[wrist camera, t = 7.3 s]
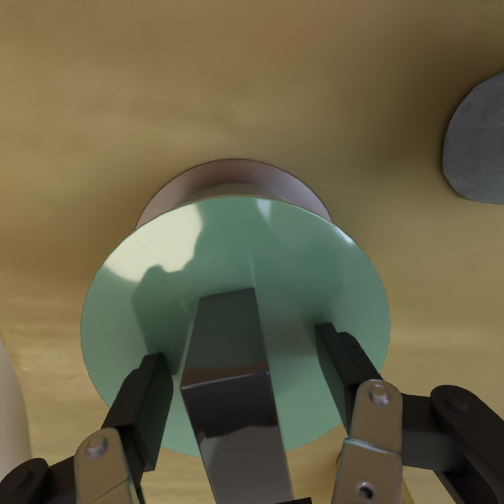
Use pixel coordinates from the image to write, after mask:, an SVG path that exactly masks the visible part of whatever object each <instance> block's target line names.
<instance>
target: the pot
mask: <svg viewBox="0 0 504 504" xmlns="http://www.w3.org/2000/svg"><path fill="white" fill-rule="evenodd" d="M327 322H332V324H333V326H334V327H335V329H336V331H337V332H338V333H339V332H344V331H346V332H348V333H349V334H351V335H352V336H354V337H355V338H356V339H357V341H358V342H359V344H360V345H361V348H363V350H364V351H365V354H367V356H368V357H369V359H370V360H371V362H372V364H373V365H374V367H375V368H376V370H377V371H378V373H379V374H380V372H381V369H382V366H383V364H384V361H385V358H386V355H387V350H388V345H389V340H390V324H391V322H390V312H389V304H388V300H387V296H386V292H385V288H384V286H383V283H382V281H381V279H380V277H379V274H378V272H377V270H376V269H375V267H374V265H373V264H372V262H371V261H370V259H369V257H368V256H367V254H366V253H365V252H364V251H363V250H362V249H361V248H360V246H359V245H358V244H357V243H356V242H355V241H354V240H353V239H352V238H351V237H350V236H349V235H347V234H346V233H345V232H344V231H343V230H342V229H340V228H339V227H338V226H336V225H335V224H334V223H332V222H330V221H329V220H327V219H326V218H324V217H322V216H321V215H319V214H318V213H316V212H313V211H311V210H309V209H307V208H304V207H302V206H300V205H298V204H295V203H293V202H292V201H291V200H290V199H288V198H287V197H285V196H283V195H282V194H280V193H278V192H276V191H274V190H272V189H270V188H267V187H263V186H260V185H257V184H250V183H237V182H231V183H223V184H217V185H213V186H209V187H206V188H204V189H201V190H199V191H196V192H195V193H193V194H191V195H189V196H188V197H186V198H185V199H183V200H182V201H181V202H179V203H178V204H177V205H176V206H175V207H174V208H171V209H169V210H166V211H164V212H162V213H160V214H159V215H157V216H155V217H153V218H152V219H150V220H148V221H146V222H145V223H143V224H142V225H141V226H140V227H138V228H137V229H136V230H134V231H133V232H132V233H131V234H129V235H128V236H127V237H126V238H124V239H123V240H122V241H121V242H120V243H119V244H118V246H117V247H116V248H115V249H114V250H113V251H112V252H111V253H110V254H109V255H108V257H107V258H106V259H105V261H104V262H103V264H102V265H101V267H100V268H99V269H98V271H97V273H96V275H95V277H94V279H93V281H92V283H91V285H90V287H89V289H88V292H87V296H86V299H85V302H84V306H83V311H82V318H81V326H80V329H81V347H82V353H83V358H84V362H85V365H86V368H87V371H88V374H89V377H90V379H91V381H92V383H93V385H94V386H95V388H96V390H97V392H98V394H99V395H100V396H101V398H102V399H103V401H104V402H105V403H106V405H107V406H108V407H109V408H111V406H112V404H113V402H114V400H115V399H116V396H117V394H118V391H120V387H121V385H122V383H123V381H124V379H125V378H126V377H127V376H128V375H129V374H130V372H131V371H132V370H133V369H138V368H139V366H140V364H141V362H142V359H143V357H144V356H145V355H148V354H154V353H159V352H163V353H164V355H165V357H166V360H167V363H168V367H169V370H170V373H171V376H172V379H173V384H174V393H173V398H172V402H171V406H170V410H169V414H168V418H167V422H166V426H165V430H164V434H163V438H162V442H161V446H162V447H165V448H167V449H170V450H173V451H176V452H178V453H182V454H186V455H190V456H194V457H199V458H202V461H203V464H204V467H205V470H206V473H207V476H208V479H209V483H210V486H211V489H212V492H213V495H214V498H215V501H216V504H276V503H281V502H286V501H292V500H294V496H293V490H292V484H291V479H290V473H289V467H288V462H287V456H286V452H287V451H290V450H293V449H296V448H298V447H301V446H303V445H305V444H307V443H310V442H312V441H314V440H315V439H317V438H319V437H321V436H322V435H324V434H326V433H327V432H329V431H330V430H332V429H333V428H334V427H336V426H337V425H339V424H340V423H341V422H342V420H341V417H340V415H339V412H338V410H337V407H336V405H335V402H334V400H333V397H332V395H331V392H330V390H329V388H328V385H327V383H326V380H325V378H324V375H323V373H322V370H321V368H320V365H319V361H318V356H317V349H316V340H315V331H314V325H316V324H322V323H327Z"/></svg>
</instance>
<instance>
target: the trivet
mask: <svg viewBox="0 0 504 504" xmlns="http://www.w3.org/2000/svg"><path fill="white" fill-rule="evenodd" d="M231 182H237V183H250V184H257V185H260V186H263V187H267V188H270V189H272V190H274V191H276V192H278V193H280V194H282V195H283V196H285V197H287V198H288V199H290V200H291V201H292V202H293V203H295V204H298V205H300V206H302V207H304V208H307V209H309V210H311V211H313V212H316V213H318V214H319V215H321V216H322V217H324V218H326V219H327V220H329V221H330V222H332V223H333V221H332V218H331V216H330V214H329V212H328V210H327V209H326V207H325V206H324V204H323V203H322V201H321V200H320V199H319V198H318V196H317V195H316V194H315V193H314V192H313V191H312V190H311V189H310V188H309V187H308V186H307V185H306V184H304V183H303V182H302V181H301V180H299V179H298V178H296V177H295V176H293V175H291V174H290V173H288V172H286V171H284V170H282V169H280V168H277V167H275V166H272V165H269V164H266V163H262V162H258V161H251V160H244V159H228V160H220V161H213V162H210V163H206V164H202V165H199V166H197V167H194V168H192V169H189V170H187V171H185V172H183V173H182V174H180V175H178V176H177V177H175V178H173V179H172V180H171V181H169V182H168V183H167V184H166V185H164V186H163V187H162V188H161V189H160V190H159V191H158V192H157V193H156V194H155V195H154V196H153V197H152V198H151V200H150V201H149V203H148V204H147V206H146V207H145V208H144V210H143V212H142V214H141V216H140V218H139V220H138V222H137V224H136V227H135V230H136V229H137V228H138V227H140V226H141V225H142V224H143V223H145V222H146V221H148V220H150V219H152V218H153V217H155V216H157V215H159V214H160V213H162V212H164V211H166V210H169V209H171V208H174V207H175V206H176V205H177V204H178V203H179V202H181V201H182V200H183V199H185V198H186V197H188V196H189V195H191V194H193V193H195V192H196V191H199V190H201V189H204V188H206V187H209V186H213V185H217V184H223V183H231Z"/></svg>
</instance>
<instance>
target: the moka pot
mask: <svg viewBox="0 0 504 504" xmlns="http://www.w3.org/2000/svg"><path fill="white" fill-rule="evenodd" d="M443 145H444V147H443V167H442V170H443V173H444V175H445V177H446V179H447V181H448V182H449V183H450V185H451V186H452V187H453V188H454V190H455V191H456V192H457V193H458V194H460V195H461V196H462V197H463V198H464V199H467V200H471V201H478V202H485V203H492V204H504V71H503V72H501V73H499V74H497V75H495V76H493V77H491V78H489V79H488V80H486V81H484V82H482V83H480V84H478V85H477V86H476V87H475V88H473V89H472V91H471V92H470V93H469V94H468V95H467V96H466V97H465V99H464V100H463V101H462V102H461V103H460V105H459V106H458V108H457V109H456V111H455V113H454V115H453V117H452V119H451V121H450V124H449V126H448V129H447V132H446V135H445V138H444V142H443Z"/></svg>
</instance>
